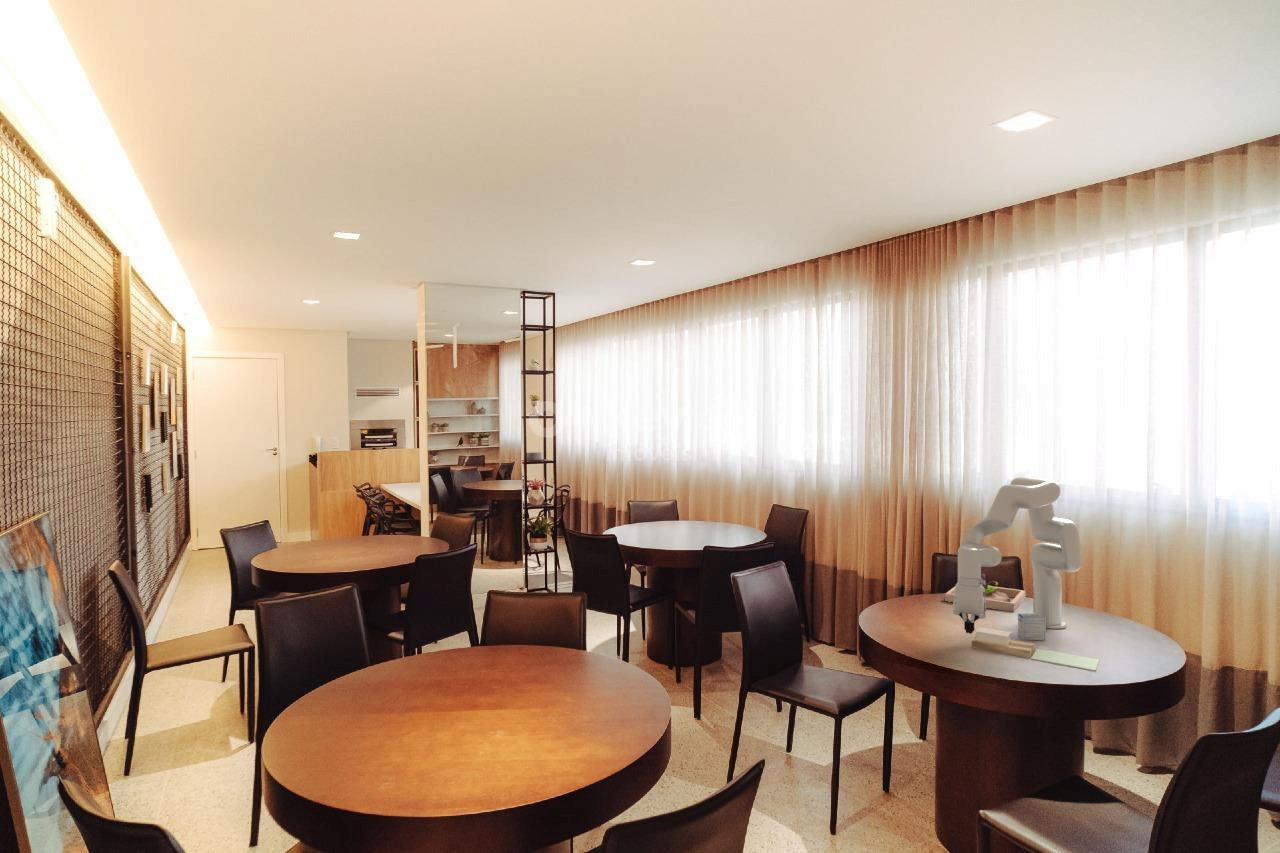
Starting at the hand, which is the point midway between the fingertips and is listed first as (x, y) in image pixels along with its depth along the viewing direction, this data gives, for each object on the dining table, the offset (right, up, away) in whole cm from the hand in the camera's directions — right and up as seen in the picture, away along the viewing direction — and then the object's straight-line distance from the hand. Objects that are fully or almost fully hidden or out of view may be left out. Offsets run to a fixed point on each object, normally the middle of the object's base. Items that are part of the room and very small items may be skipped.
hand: (969, 632), depth 246 cm
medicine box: (+25, -4, +5) cm, 26 cm away
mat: (+23, -4, -18) cm, 30 cm away
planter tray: (+35, -3, +58) cm, 68 cm away
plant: (+36, -4, +60) cm, 70 cm away
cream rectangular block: (+6, -1, -5) cm, 8 cm away
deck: (+9, -4, -7) cm, 11 cm away
